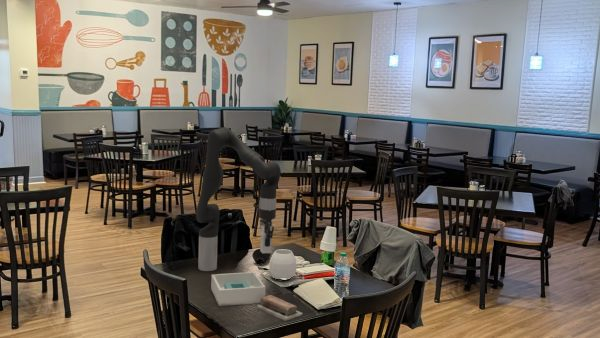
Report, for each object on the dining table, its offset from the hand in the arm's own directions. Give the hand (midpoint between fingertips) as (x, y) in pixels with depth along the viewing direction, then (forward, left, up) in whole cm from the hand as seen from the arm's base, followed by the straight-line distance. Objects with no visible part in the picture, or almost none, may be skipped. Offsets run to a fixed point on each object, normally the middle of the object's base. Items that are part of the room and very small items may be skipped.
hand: (265, 244), depth 245 cm
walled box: (+1, -12, -23) cm, 26 cm away
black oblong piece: (-44, +12, -23) cm, 51 cm away
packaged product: (+21, +1, -23) cm, 31 cm away
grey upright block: (0, 0, -3) cm, 3 cm away
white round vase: (-18, +14, -23) cm, 32 cm away
